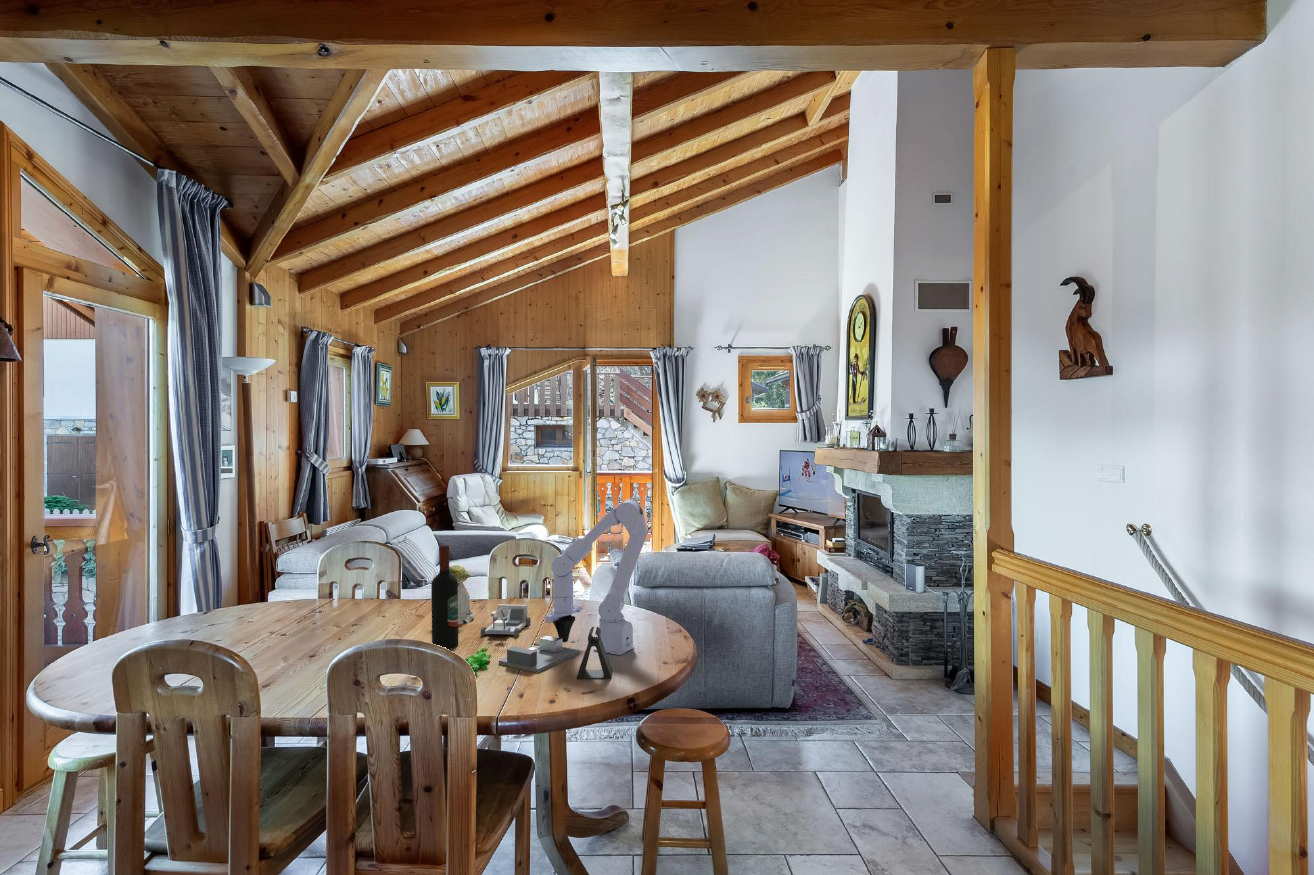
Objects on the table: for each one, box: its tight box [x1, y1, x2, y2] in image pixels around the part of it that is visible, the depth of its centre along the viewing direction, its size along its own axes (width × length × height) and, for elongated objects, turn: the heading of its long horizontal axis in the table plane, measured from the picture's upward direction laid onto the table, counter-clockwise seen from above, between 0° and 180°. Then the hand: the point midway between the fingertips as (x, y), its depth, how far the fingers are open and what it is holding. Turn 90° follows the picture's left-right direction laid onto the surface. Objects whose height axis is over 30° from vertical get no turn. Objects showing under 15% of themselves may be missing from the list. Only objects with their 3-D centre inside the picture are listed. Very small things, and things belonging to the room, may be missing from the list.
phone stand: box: [576, 626, 613, 680], centre depth 182 cm, size 9×6×12 cm, turn 90°
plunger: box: [533, 635, 563, 653], centre depth 201 cm, size 9×3×3 cm, turn 60°
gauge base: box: [498, 644, 580, 674], centre depth 196 cm, size 14×18×4 cm
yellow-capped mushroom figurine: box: [449, 565, 476, 626], centre depth 236 cm, size 12×13×18 cm
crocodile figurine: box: [464, 647, 492, 676], centre depth 187 cm, size 7×18×4 cm, turn 167°
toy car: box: [480, 603, 532, 638], centre depth 222 cm, size 18×10×12 cm
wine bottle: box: [430, 544, 459, 650], centre depth 207 cm, size 8×8×30 cm
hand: (563, 641), depth 205 cm, fingers closed
